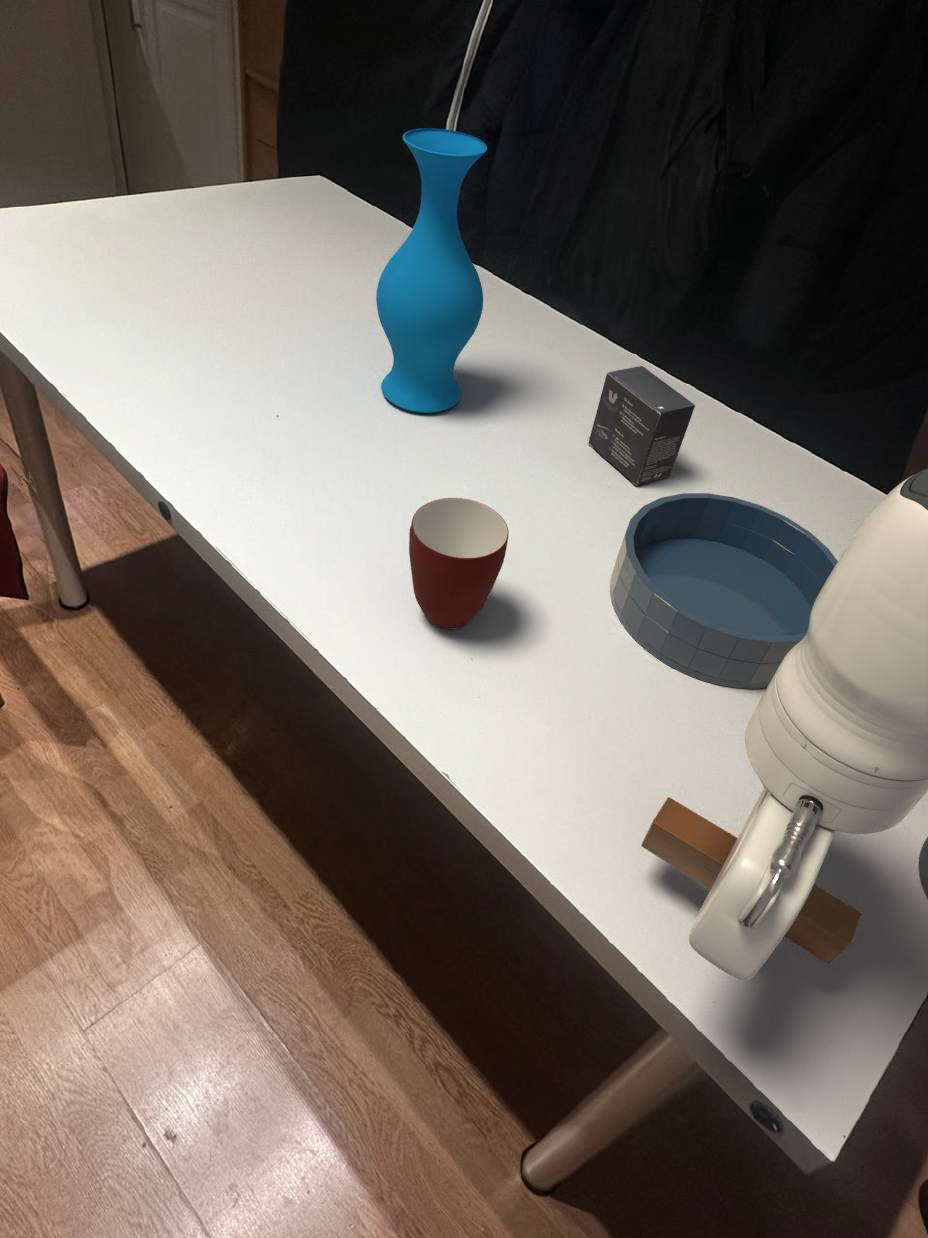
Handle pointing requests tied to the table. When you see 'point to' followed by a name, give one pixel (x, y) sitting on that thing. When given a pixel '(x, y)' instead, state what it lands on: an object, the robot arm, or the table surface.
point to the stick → (702, 857)
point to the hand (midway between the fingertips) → (747, 876)
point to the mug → (455, 558)
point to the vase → (431, 280)
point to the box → (640, 424)
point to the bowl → (718, 586)
